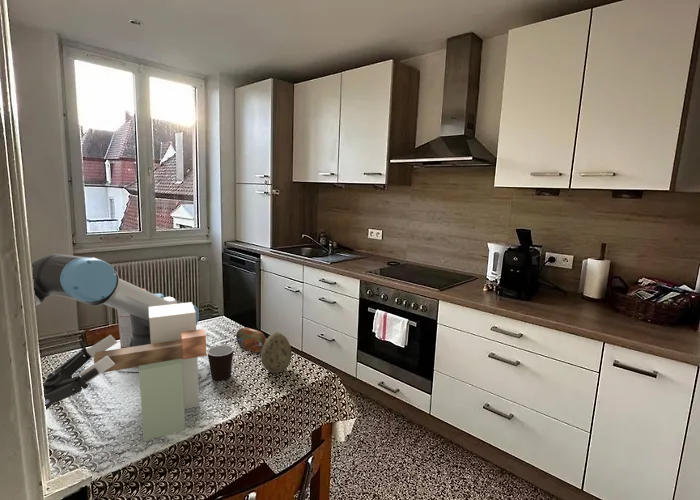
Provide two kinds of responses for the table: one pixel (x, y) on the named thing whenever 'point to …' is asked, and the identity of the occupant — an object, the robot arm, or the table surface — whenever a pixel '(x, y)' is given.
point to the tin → (250, 339)
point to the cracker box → (124, 328)
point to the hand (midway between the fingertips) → (112, 348)
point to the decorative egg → (276, 353)
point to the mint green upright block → (162, 398)
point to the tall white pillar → (168, 328)
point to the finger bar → (157, 351)
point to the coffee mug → (220, 362)
